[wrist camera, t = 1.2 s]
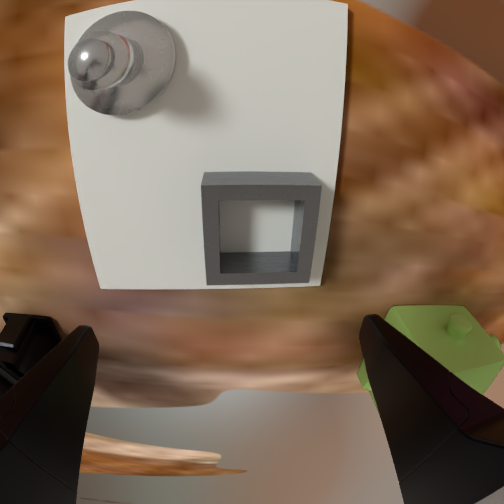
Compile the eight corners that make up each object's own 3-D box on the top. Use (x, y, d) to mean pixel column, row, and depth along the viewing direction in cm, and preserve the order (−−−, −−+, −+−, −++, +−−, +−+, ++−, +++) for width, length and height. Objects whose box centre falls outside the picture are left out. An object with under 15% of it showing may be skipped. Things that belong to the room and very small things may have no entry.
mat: (318, 281, 24) (320, 285, 24) (102, 284, 23) (100, 288, 23) (344, 5, 14) (347, 3, 14) (69, 17, 13) (65, 16, 12)
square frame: (301, 261, 23) (309, 282, 20) (208, 263, 22) (206, 285, 20) (311, 172, 19) (321, 185, 17) (204, 172, 19) (200, 185, 17)
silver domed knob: (177, 108, 17) (158, 119, 12) (78, 120, 16) (34, 137, 12) (177, 6, 13) (159, -18, 9) (75, 24, 13) (31, 15, 8)
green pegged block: (491, 291, 28) (539, 343, 20) (454, 354, 33) (489, 407, 25) (367, 286, 25) (419, 368, 17) (333, 366, 30) (361, 444, 22)
